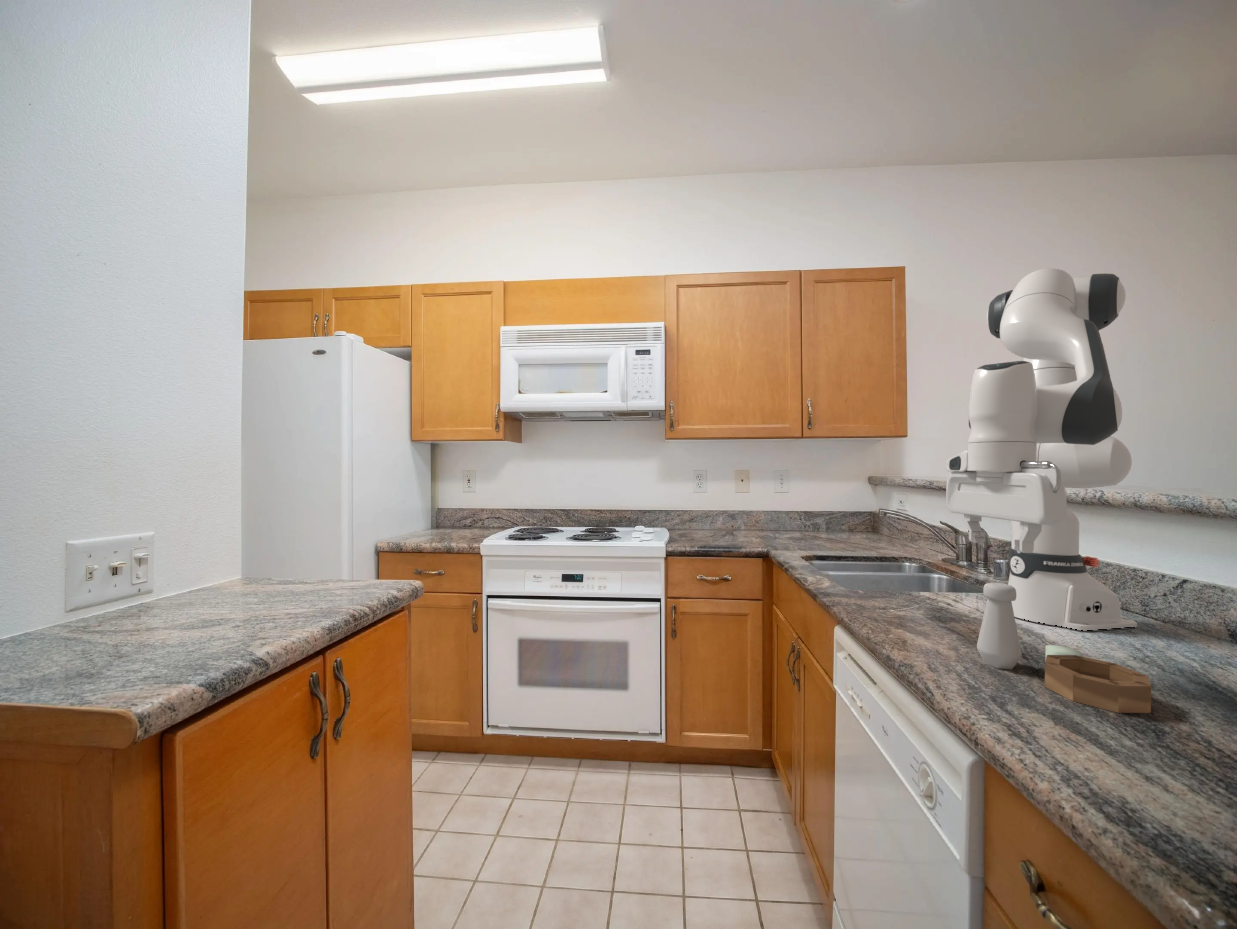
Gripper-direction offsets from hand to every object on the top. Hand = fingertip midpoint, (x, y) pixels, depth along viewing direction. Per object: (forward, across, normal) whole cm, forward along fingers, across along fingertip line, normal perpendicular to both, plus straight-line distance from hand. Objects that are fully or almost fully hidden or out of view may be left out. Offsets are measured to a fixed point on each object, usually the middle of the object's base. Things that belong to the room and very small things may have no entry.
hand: (999, 546), depth 79 cm
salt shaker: (+19, 0, -1) cm, 19 cm away
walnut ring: (+19, -10, -6) cm, 22 cm away
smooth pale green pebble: (+19, -1, -10) cm, 22 cm away
